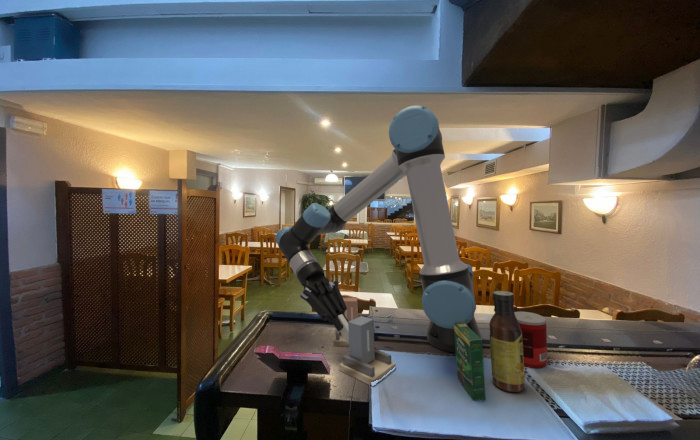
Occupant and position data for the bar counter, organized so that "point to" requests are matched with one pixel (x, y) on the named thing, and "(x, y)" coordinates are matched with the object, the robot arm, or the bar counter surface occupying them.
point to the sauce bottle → (506, 344)
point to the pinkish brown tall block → (351, 308)
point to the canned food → (533, 338)
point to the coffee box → (469, 361)
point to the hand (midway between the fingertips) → (351, 338)
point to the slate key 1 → (361, 339)
